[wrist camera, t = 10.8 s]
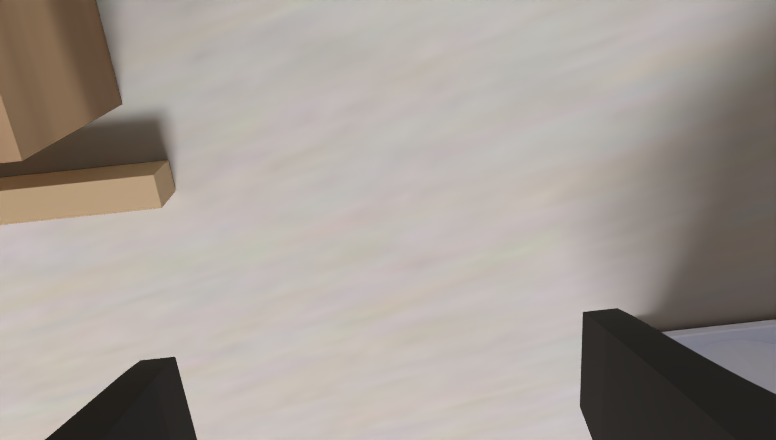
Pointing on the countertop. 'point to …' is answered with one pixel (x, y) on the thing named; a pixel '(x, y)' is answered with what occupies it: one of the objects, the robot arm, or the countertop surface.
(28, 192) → the wall board
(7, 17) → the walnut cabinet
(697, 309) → the countertop surface
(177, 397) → the robot arm
